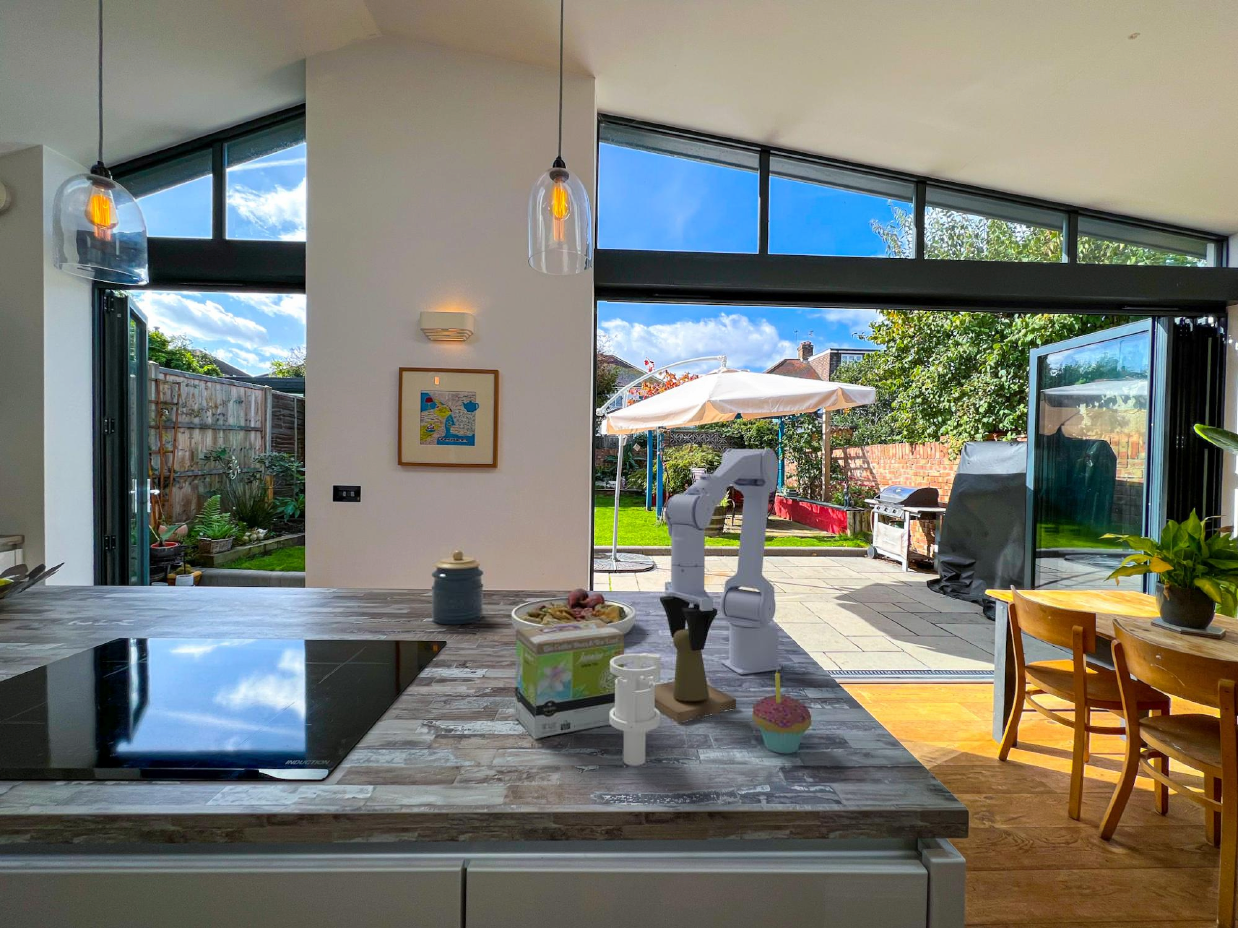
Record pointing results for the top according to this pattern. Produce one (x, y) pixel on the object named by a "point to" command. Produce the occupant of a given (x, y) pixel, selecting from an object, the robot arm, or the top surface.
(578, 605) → the bowl
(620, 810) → the top surface
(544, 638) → the tea box
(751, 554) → the robot arm
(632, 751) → the white stepped hollow cylinder
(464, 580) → the canister
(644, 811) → the top surface
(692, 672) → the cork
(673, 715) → the walnut board
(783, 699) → the cupcake
